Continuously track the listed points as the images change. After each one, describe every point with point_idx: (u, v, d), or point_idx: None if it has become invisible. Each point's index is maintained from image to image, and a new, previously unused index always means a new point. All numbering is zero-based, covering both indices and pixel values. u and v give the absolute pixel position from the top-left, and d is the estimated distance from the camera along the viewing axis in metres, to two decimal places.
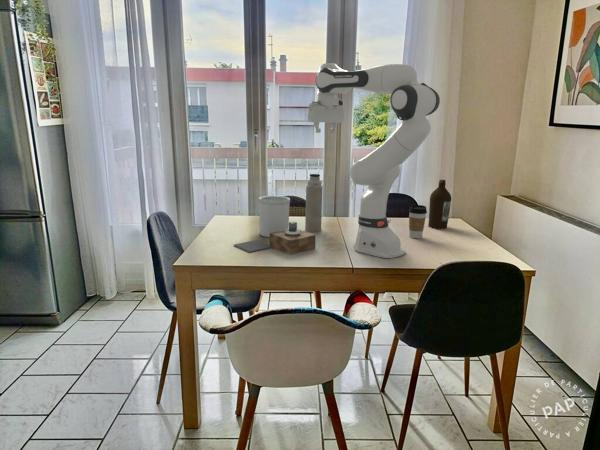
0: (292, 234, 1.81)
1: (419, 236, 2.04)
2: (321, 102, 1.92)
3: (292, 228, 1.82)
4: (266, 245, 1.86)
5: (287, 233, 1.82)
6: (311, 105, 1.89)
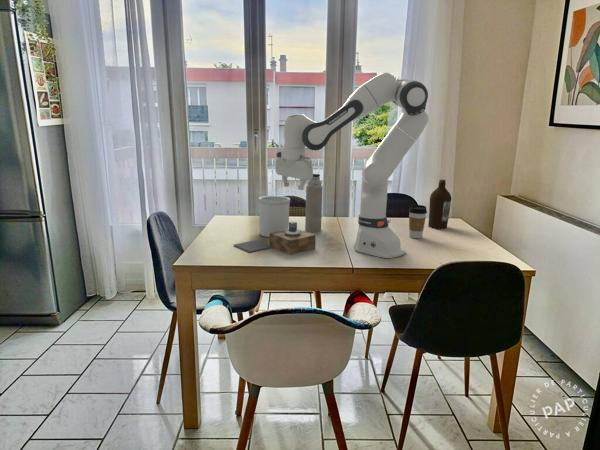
0: (292, 234, 1.81)
1: (419, 236, 2.04)
2: None
3: (292, 228, 1.82)
4: (266, 245, 1.86)
5: (287, 233, 1.82)
6: None
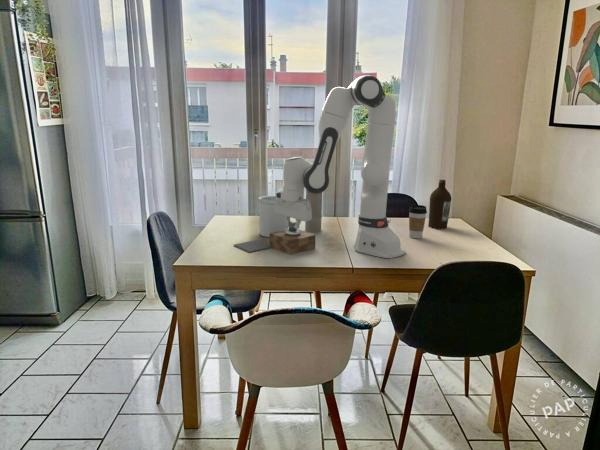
0: (292, 234, 1.81)
1: (419, 236, 2.04)
2: (302, 198, 1.78)
3: (292, 228, 1.82)
4: (266, 245, 1.86)
5: (287, 233, 1.82)
6: None
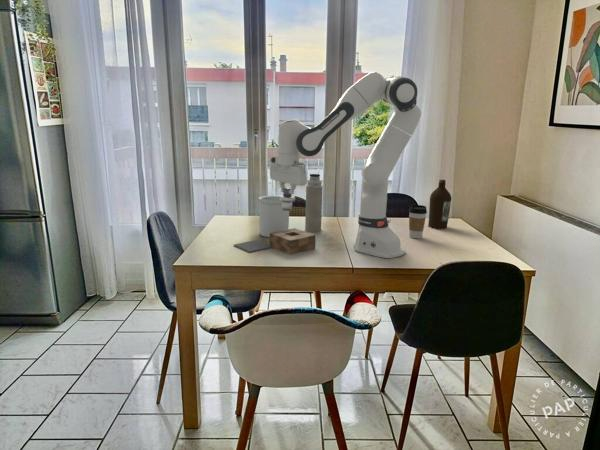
0: (286, 199, 1.77)
1: (419, 236, 2.04)
2: None
3: (287, 194, 1.78)
4: (266, 245, 1.86)
5: (281, 199, 1.78)
6: None
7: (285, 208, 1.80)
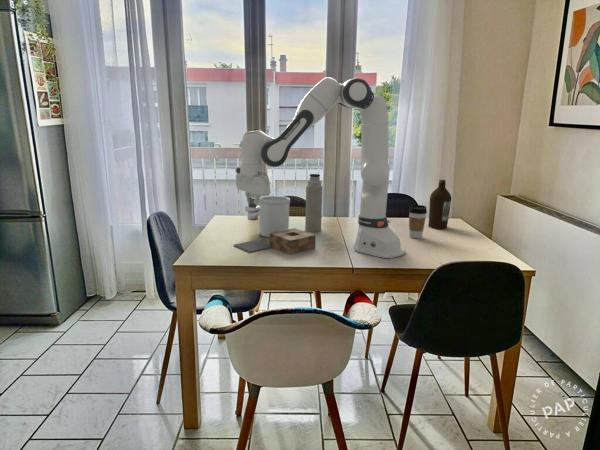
0: (251, 209, 1.78)
1: (419, 236, 2.04)
2: None
3: (252, 204, 1.79)
4: (266, 245, 1.86)
5: (246, 209, 1.79)
6: None
7: (250, 218, 1.81)
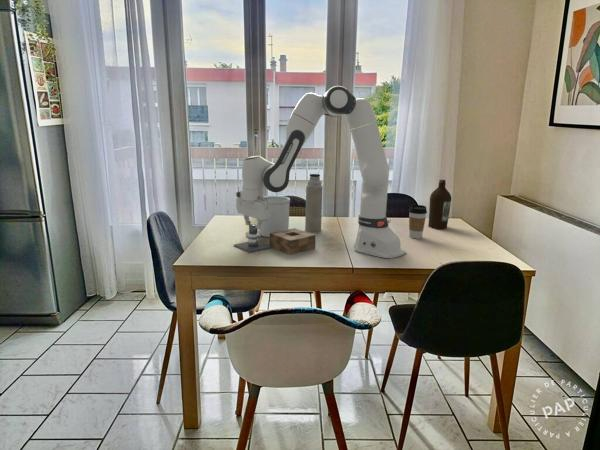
0: (251, 236, 1.81)
1: (419, 236, 2.04)
2: None
3: (252, 231, 1.82)
4: (266, 245, 1.86)
5: (247, 236, 1.82)
6: None
7: (251, 244, 1.83)
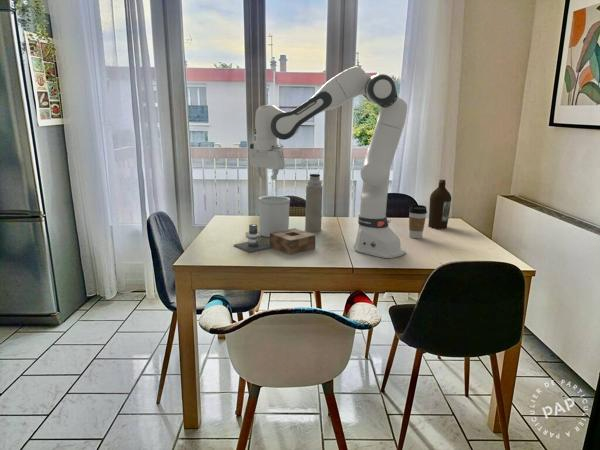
0: (251, 236, 1.81)
1: (419, 236, 2.04)
2: None
3: (252, 231, 1.82)
4: (266, 245, 1.86)
5: (247, 236, 1.82)
6: None
7: (251, 244, 1.83)
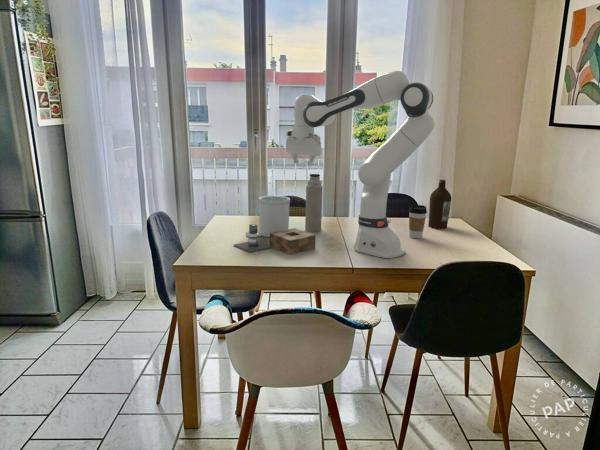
0: (251, 236, 1.81)
1: (419, 236, 2.04)
2: None
3: (252, 230, 1.82)
4: (266, 245, 1.86)
5: (247, 235, 1.82)
6: None
7: (251, 244, 1.83)
